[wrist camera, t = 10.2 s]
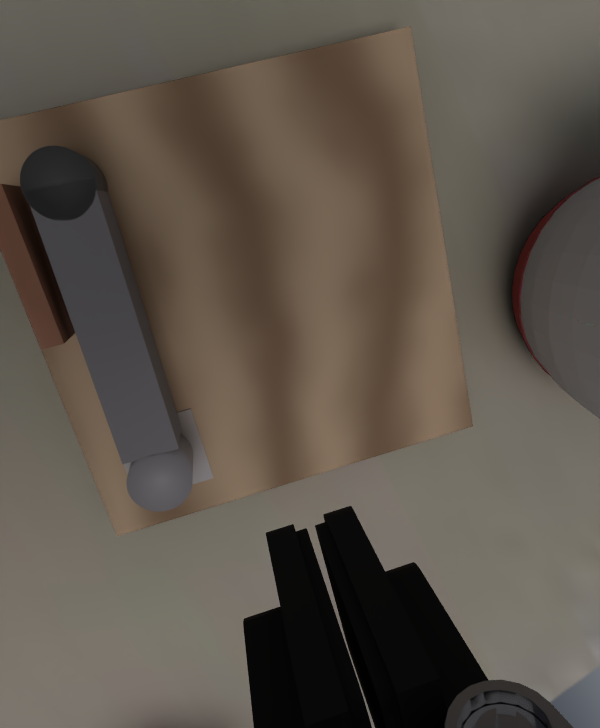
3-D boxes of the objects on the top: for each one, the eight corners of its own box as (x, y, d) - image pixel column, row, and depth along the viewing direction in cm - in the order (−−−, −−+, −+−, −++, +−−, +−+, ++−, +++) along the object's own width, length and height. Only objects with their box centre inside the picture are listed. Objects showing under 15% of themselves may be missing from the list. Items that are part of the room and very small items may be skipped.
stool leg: (200, 474, 30) (199, 501, 28) (143, 490, 30) (137, 519, 27) (98, 146, 25) (85, 138, 22) (28, 161, 25) (6, 154, 22)
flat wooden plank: (121, 517, 33) (107, 575, 28) (-30, 136, 26) (-87, 118, 21) (458, 414, 35) (503, 449, 30) (396, 38, 28) (440, -1, 23)
